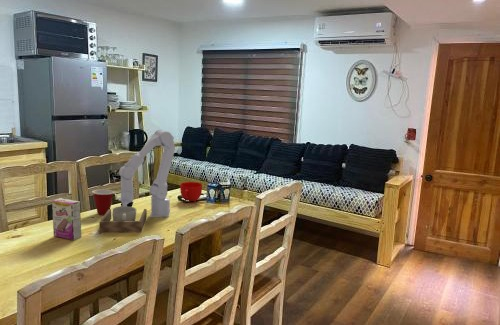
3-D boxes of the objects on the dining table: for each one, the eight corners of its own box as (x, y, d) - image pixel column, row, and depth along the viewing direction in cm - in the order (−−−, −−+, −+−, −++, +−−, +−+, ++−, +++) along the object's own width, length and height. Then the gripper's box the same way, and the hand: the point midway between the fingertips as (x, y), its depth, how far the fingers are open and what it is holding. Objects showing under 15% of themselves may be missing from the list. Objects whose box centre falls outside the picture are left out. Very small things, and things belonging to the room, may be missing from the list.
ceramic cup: (174, 204, 222) (174, 187, 221) (184, 197, 239) (184, 181, 237) (196, 206, 220) (196, 189, 219) (204, 198, 237) (204, 182, 235)
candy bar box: (52, 236, 169) (50, 200, 166) (61, 233, 174) (60, 197, 171) (73, 241, 166) (71, 203, 163) (82, 237, 170) (80, 200, 167)
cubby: (146, 218, 197) (146, 209, 196) (141, 232, 179) (141, 221, 178) (108, 218, 195) (108, 209, 194) (99, 232, 176) (99, 222, 175)
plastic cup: (119, 212, 205) (119, 190, 203) (102, 217, 196) (101, 194, 193) (105, 208, 210) (105, 187, 208) (88, 213, 201) (87, 191, 199)
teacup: (116, 220, 192) (115, 205, 191) (138, 221, 193) (138, 205, 192) (108, 230, 178) (108, 214, 177) (132, 231, 179) (132, 214, 178)
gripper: (121, 186, 199) (121, 212, 201) (115, 194, 184) (116, 221, 187) (135, 186, 200) (135, 212, 202) (130, 194, 185) (131, 221, 188)
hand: (127, 216), depth 195 cm, fingers closed
